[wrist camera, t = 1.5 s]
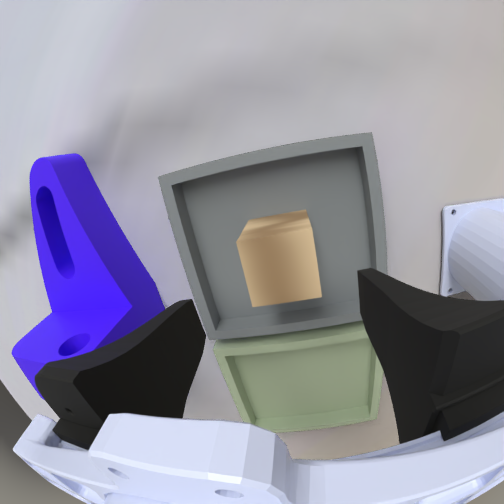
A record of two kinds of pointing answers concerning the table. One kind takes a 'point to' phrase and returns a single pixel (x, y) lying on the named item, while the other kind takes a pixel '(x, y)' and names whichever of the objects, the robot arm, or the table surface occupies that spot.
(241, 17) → the table surface
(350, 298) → the charcoal bin
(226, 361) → the olive bin
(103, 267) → the bracket
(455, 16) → the table surface
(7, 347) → the table surface
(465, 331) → the robot arm
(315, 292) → the oak block
